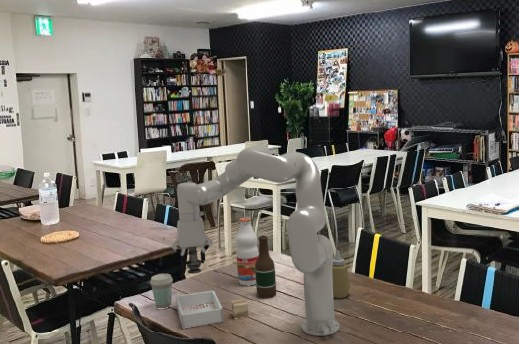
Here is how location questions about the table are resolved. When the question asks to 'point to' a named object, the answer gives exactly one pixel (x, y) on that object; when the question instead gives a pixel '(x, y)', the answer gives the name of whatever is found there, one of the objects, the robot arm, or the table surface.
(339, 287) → the squeeze bottle
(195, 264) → the chess piece
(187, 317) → the tote
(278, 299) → the table surface
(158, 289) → the coffee cup
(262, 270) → the beer bottle
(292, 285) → the table surface
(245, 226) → the fruit juice
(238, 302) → the beech cube
